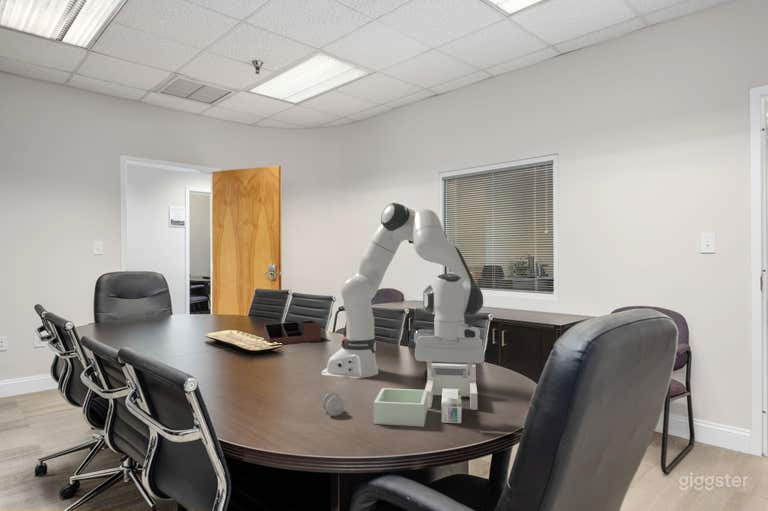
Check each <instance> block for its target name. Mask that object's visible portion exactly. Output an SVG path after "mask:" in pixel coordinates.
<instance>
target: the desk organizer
mask: <svg viewBox="0 0 768 511" xmlns="http://www.w3.org/2000/svg"><path fill="white" fill-rule="evenodd" d="M321 324H322V322H321V321H317V320H303V321H292V322H291V321H289V322H278V323H267V324H266V323H265V324H263V341H264V340H265V341H267V342H269V343H273V342H277V343H282V344H283V345H291V344H300V343H310V342H317V341H319V342H320V341H321V340H322V338H321V337H322V335H321V334H322V325H321Z"/></svg>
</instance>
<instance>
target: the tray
mask: <svg viewBox="0 0 768 511" xmlns="http://www.w3.org/2000/svg"><path fill="white" fill-rule="evenodd" d="M427 414H428V407H427V390H425V389H414V388H413V389H412V388H411V389H410V388H389V387H388V388H385V387H383V388H381V389H380V391H379V392H378V394H377V396H376V397H375V400H374V401H373V424H375V425H389V426H390V425H391V426H404V427H405V426H409V427H425V422H426V418H427Z"/></svg>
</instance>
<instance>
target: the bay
mask: <svg viewBox="0 0 768 511" xmlns="http://www.w3.org/2000/svg"><path fill="white" fill-rule="evenodd" d="M426 366H427V365H426ZM431 366H432V368H433V369H434V370H436V377H431V371H430V370H429V368H428V366H427V368H426V370H427V381H426V384H425V388H424V390H427V409H429V408H430V409H431V408H432V405H433V400H434V396H442V389H461V397H469V404H470V406H469V407H470V410H473V411H476V410H478V388H477V382H476V381H477V374H476V373H477V371H476V370H477V368H476V363H472V368H471V369H470V371H469V372H468V378H463V371H466V370H467V368H468V366H467V363H445V362H437V363H436V362H434V363H433V362H432V364H431Z"/></svg>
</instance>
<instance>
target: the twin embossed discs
mask: <svg viewBox="0 0 768 511" xmlns="http://www.w3.org/2000/svg"><path fill="white" fill-rule="evenodd" d="M345 404H346V403H345V400H344V399H343V398H342V397H340V395H339V394H338V393H335V392H334V391H331V392H328V393H327V394H326V395H325V396H324V398H323V400H322V407H323V409H324V410H325V411H326V412H327V413H328V414H329V415H330V416H339V415H341V414H342V413H343V412H344V410H345V407H346V405H345Z"/></svg>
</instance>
